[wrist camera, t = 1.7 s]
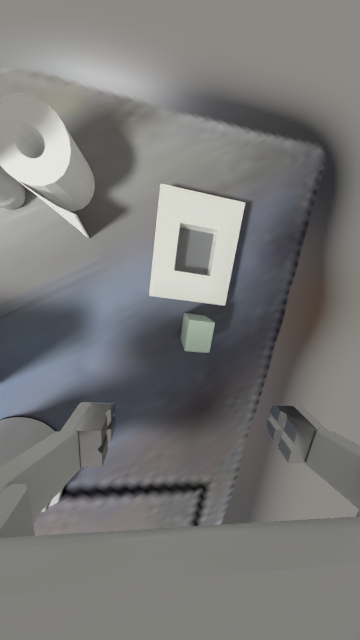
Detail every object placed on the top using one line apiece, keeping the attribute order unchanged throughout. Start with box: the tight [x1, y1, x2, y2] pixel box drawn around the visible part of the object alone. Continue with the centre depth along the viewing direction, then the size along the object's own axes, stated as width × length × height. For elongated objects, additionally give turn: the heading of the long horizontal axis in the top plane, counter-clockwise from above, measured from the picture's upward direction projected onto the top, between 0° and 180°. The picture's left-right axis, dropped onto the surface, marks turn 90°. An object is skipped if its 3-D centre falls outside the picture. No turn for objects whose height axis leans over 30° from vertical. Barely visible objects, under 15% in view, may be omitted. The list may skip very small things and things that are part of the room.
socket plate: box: [149, 184, 245, 306], centre depth 27 cm, size 16×13×2 cm
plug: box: [180, 313, 215, 353], centre depth 29 cm, size 5×4×6 cm
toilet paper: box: [0, 93, 95, 239], centre depth 21 cm, size 8×11×7 cm
